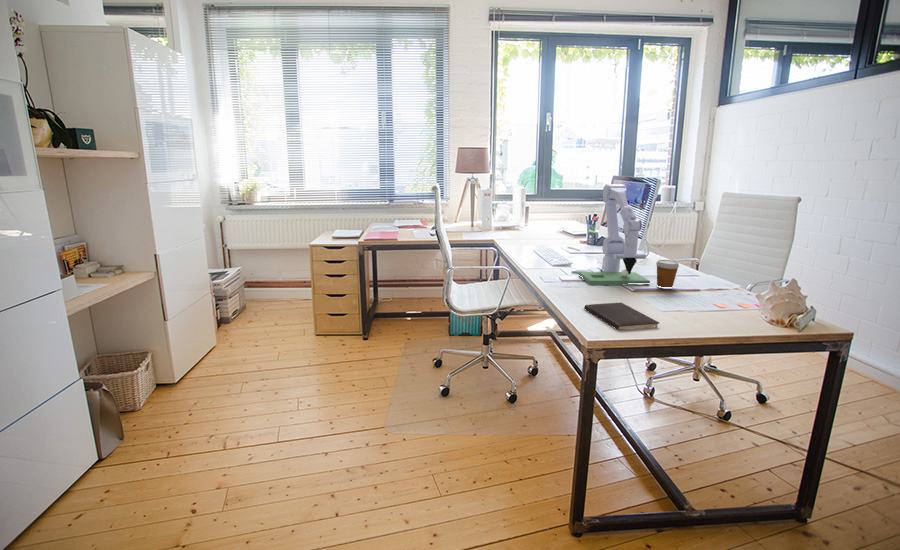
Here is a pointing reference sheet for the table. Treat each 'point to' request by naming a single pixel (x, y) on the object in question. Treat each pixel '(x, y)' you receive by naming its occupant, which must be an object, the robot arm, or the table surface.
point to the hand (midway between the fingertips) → (628, 273)
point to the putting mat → (611, 278)
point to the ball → (624, 273)
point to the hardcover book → (620, 315)
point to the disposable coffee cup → (666, 272)
